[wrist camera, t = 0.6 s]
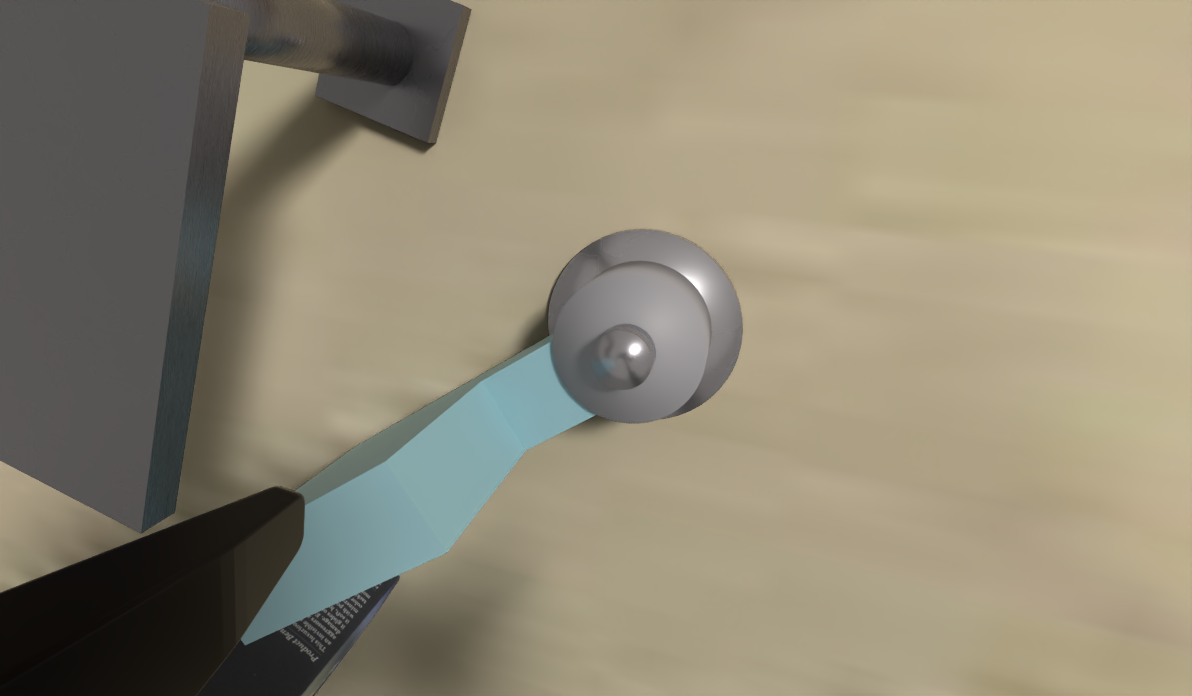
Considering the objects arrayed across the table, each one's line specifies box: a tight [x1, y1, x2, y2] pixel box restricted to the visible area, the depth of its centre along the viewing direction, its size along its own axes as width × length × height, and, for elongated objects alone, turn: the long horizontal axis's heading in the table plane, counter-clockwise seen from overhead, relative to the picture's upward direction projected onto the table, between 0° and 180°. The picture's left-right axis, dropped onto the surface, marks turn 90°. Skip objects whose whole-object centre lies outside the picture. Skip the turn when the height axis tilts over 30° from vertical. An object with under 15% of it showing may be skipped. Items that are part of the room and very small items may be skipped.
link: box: [241, 261, 712, 645], centre depth 20 cm, size 15×5×8 cm, turn 122°
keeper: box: [0, 0, 471, 533], centre depth 19 cm, size 14×5×11 cm, turn 159°
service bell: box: [548, 229, 743, 419], centre depth 21 cm, size 7×7×4 cm
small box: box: [196, 575, 400, 696], centre depth 25 cm, size 11×6×10 cm, turn 143°
